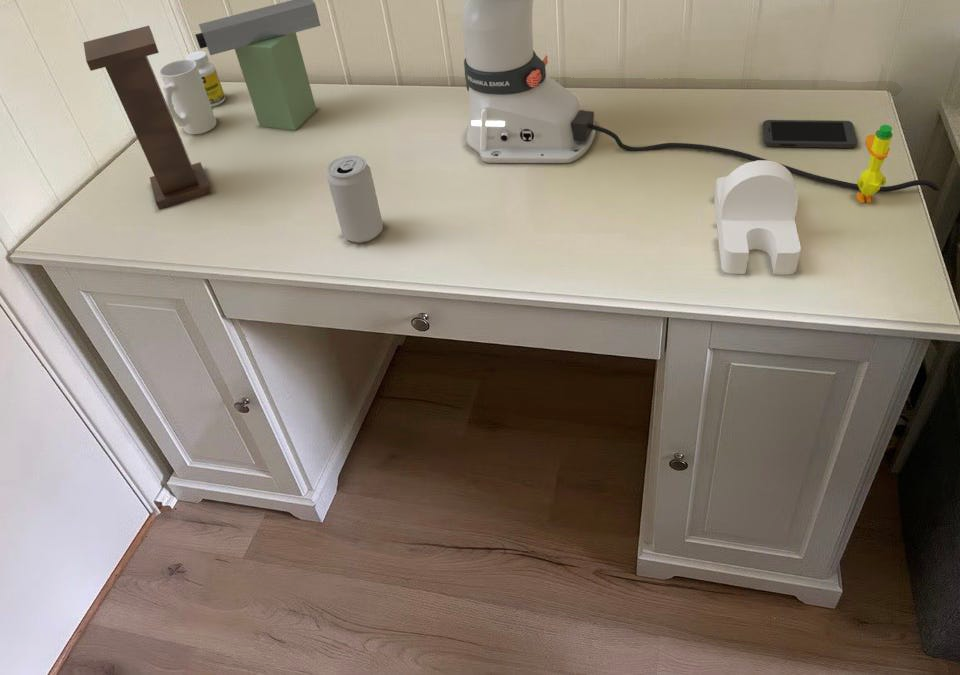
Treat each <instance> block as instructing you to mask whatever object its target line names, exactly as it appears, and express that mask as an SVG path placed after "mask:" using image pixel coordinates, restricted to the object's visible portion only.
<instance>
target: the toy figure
mask: <svg viewBox="0 0 960 675" xmlns="http://www.w3.org/2000/svg"><path fill="white" fill-rule="evenodd" d="M892 131H893V127H892V126H891V125H889V124H882V125H880V126H879V129H877V130H876V131H875V134H867V135H866V138H865V147H866V149H867V151H868V153H869V154H870V155H869V161H868V162H869V163H868V168H866V169H865V170H864V171H862V172H861V174H860V177H859V178H858V179H857V181H856V184H858V187H859V189H860V190H859V191H860V192H856V197H855V199H856V200H857V201H858V202H859V203H860V204H865V202H866V203H867V204H871V203H872V195H874V194H875V193H878V192H877V191H878V190H880V187H881V186H886V182H887V178H886V176H884V174H883V173H882V171H881V168H882V165H883V164H884V162H885V159H887V158H888V156H889V153H890V149H891V148H890V144H891V140H892V138H893V132H892Z"/></svg>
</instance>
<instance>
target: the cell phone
mask: <svg viewBox="0 0 960 675" xmlns="http://www.w3.org/2000/svg"><path fill="white" fill-rule="evenodd" d="M762 133H763V144H764V145H765V146H767V147H771V148H772V147H776V148H777V147H778V148H779V147H780V148H837V149H839V148H840V149H854V148H856V146H857V144H858V141H857V140H858V139H857V135H856V131H855V126H854V124H853V122H852V121H850V120H823V119H822V120H821V119H817V120H816V119H815V120H814V119H809V120H808V119H766V120H763V122H762Z"/></svg>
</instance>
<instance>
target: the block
mask: <svg viewBox="0 0 960 675" xmlns="http://www.w3.org/2000/svg"><path fill="white" fill-rule="evenodd" d="M234 52H235V55H236V58H237V60H238V64H239V67H240V70H241V73H242V76H243V79H244V82H245V85H246V88H247V92H248V94H249V97H250V100H251V104H252V106H253V109H254V113H255V116H256V118H257V121H258V124H259V127H262V128H263V127H264V128H271V129H280V130H289V131H296V130H298V129H299V128H300V127H301V126H302V125H303V124H304V123H305V122H306V121H307V120H308V119H309V118H310V117H311V116H312V115H313V114H314V113H315V112H316V111H317V106H316V103H315V102H316V101H315V98H314V95H313V92H312V87H311V84H310V80H309V77H308V73H307V69H306V65H305V62H304V57H303V54H302V50H301V47H300V43H299V39H298V36H297V32H295V33H292V34H288V35H284V36H281V37H277V38H273V39H269V40H266V41H262V42H258V43H255V44H251V45H247V46H243V47H240V48H236V49H234Z"/></svg>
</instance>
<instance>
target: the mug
mask: <svg viewBox="0 0 960 675" xmlns="http://www.w3.org/2000/svg"><path fill="white" fill-rule="evenodd" d="M158 74H159V75H160V78H161V80H162V82H163V85H164V87H162V89H163V94H164V98H165V101H166V103H167V106H168V108H169V111H170V113H171V115H172V118H173V120H174V123H175V124H177V126H179V127H182V128H183V130H184V132H185V133H186V134H188V135H201V134H205V133H207V132H209V131H211V130H212V129H214V128H215V127H216V126H217V120H216V116H215V114H214V111H213V107H211V104H210V102H209V99H208V96H207V93H206V90H205V87H204V84H203V81H202V78H201V75H200V73H199V70H198V67H197V64H196V62H195V61H193V60H189V59H186V58H185V59H184V58H183V59H178V60H174V61H170V62H169V63H166V64H164V65H163V66H162V67H161V68H160V69H159V73H158Z"/></svg>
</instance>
